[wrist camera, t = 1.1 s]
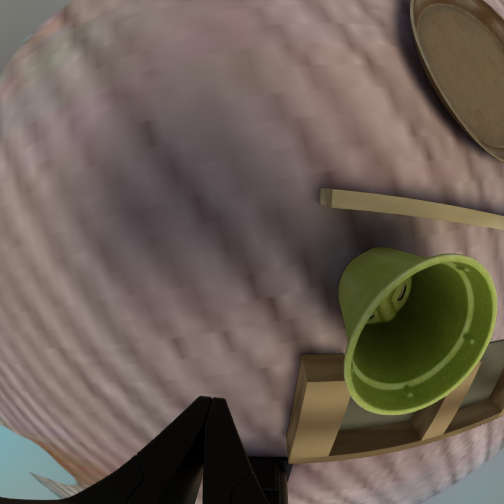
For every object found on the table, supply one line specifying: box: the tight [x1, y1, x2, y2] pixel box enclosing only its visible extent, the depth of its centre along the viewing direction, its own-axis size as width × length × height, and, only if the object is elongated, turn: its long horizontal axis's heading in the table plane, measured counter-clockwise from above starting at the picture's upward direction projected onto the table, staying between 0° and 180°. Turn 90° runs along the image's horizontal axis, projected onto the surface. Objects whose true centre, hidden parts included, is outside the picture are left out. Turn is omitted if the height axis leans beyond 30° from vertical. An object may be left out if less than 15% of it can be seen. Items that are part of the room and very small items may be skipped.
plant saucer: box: [410, 0, 504, 163], centre depth 14 cm, size 18×18×3 cm
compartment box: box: [286, 188, 504, 464], centre depth 18 cm, size 23×28×6 cm
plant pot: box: [338, 247, 497, 415], centre depth 16 cm, size 9×9×9 cm
